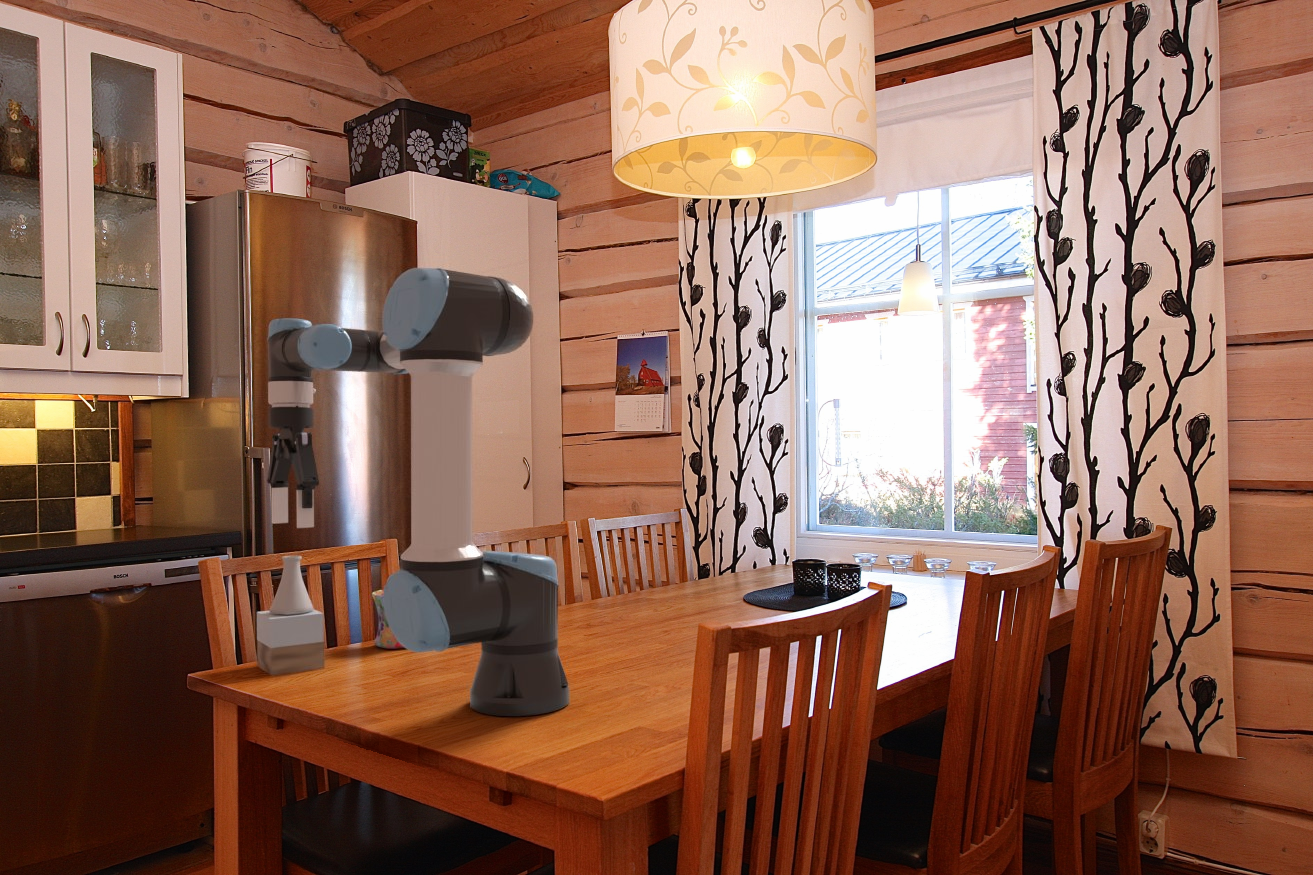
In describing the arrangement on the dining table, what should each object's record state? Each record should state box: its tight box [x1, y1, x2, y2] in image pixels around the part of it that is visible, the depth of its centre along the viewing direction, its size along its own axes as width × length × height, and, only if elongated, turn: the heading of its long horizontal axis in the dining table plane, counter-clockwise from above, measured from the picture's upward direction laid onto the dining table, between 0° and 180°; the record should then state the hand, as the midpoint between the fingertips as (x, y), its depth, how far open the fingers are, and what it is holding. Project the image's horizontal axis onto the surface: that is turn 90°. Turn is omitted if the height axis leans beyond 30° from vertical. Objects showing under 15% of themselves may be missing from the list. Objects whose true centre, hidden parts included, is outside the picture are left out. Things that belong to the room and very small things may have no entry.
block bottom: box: [256, 639, 326, 677], centre depth 175 cm, size 9×9×5 cm
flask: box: [268, 555, 315, 615], centre depth 175 cm, size 7×7×10 cm
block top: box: [256, 609, 325, 648], centre depth 175 cm, size 9×9×5 cm
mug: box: [371, 589, 406, 650], centre depth 193 cm, size 12×9×11 cm
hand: (292, 525), depth 175 cm, fingers open, 13 cm apart
